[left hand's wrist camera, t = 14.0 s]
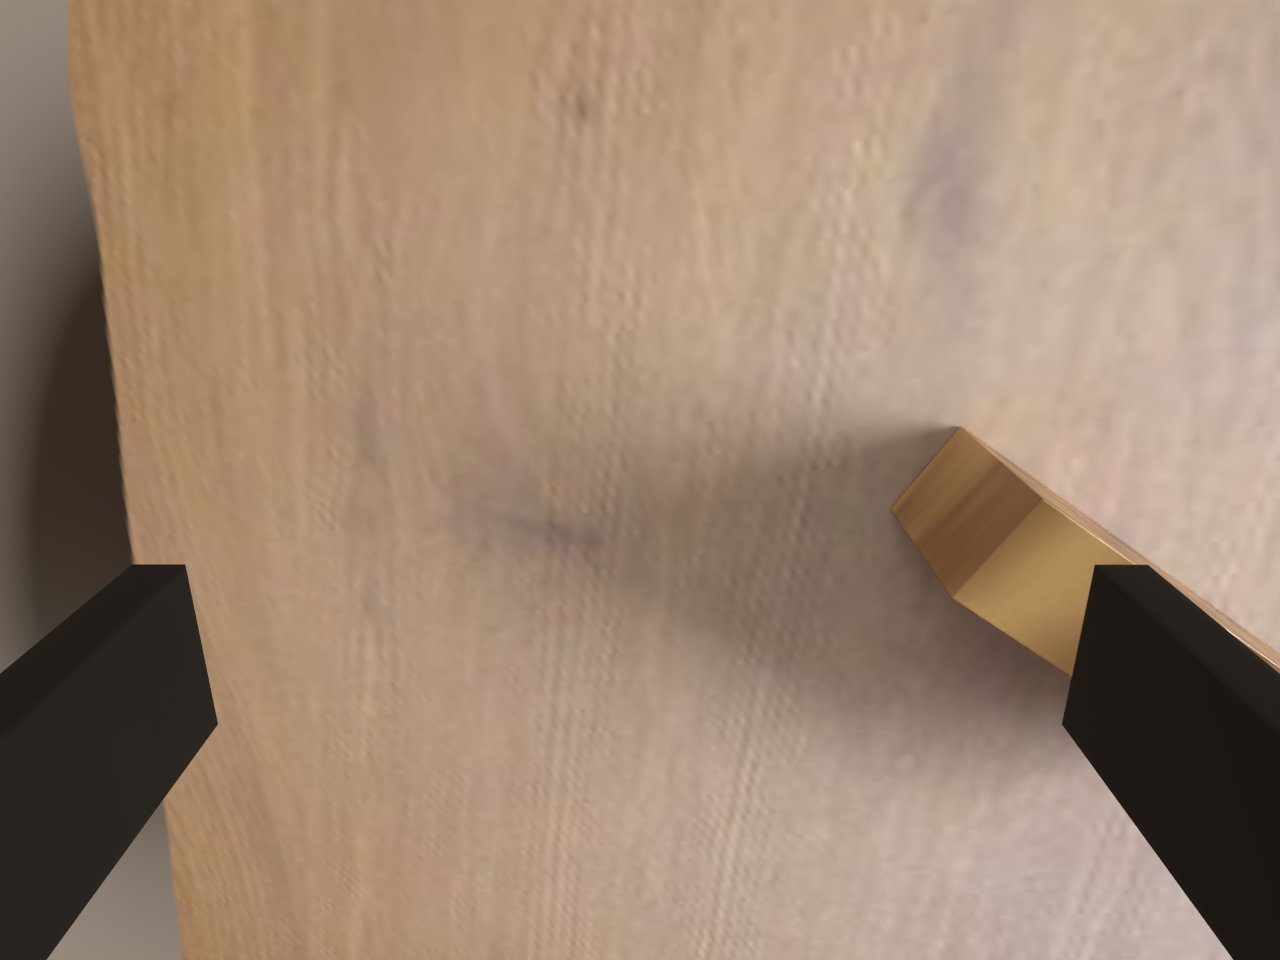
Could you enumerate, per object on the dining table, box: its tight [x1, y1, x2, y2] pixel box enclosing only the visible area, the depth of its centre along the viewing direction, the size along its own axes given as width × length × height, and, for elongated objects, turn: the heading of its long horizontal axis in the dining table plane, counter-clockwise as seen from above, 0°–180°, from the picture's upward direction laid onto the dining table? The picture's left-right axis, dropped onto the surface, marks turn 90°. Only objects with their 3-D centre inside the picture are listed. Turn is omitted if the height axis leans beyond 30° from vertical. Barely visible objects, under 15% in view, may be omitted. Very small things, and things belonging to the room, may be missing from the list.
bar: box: [891, 427, 1280, 678], centre depth 39 cm, size 22×5×9 cm, turn 56°
